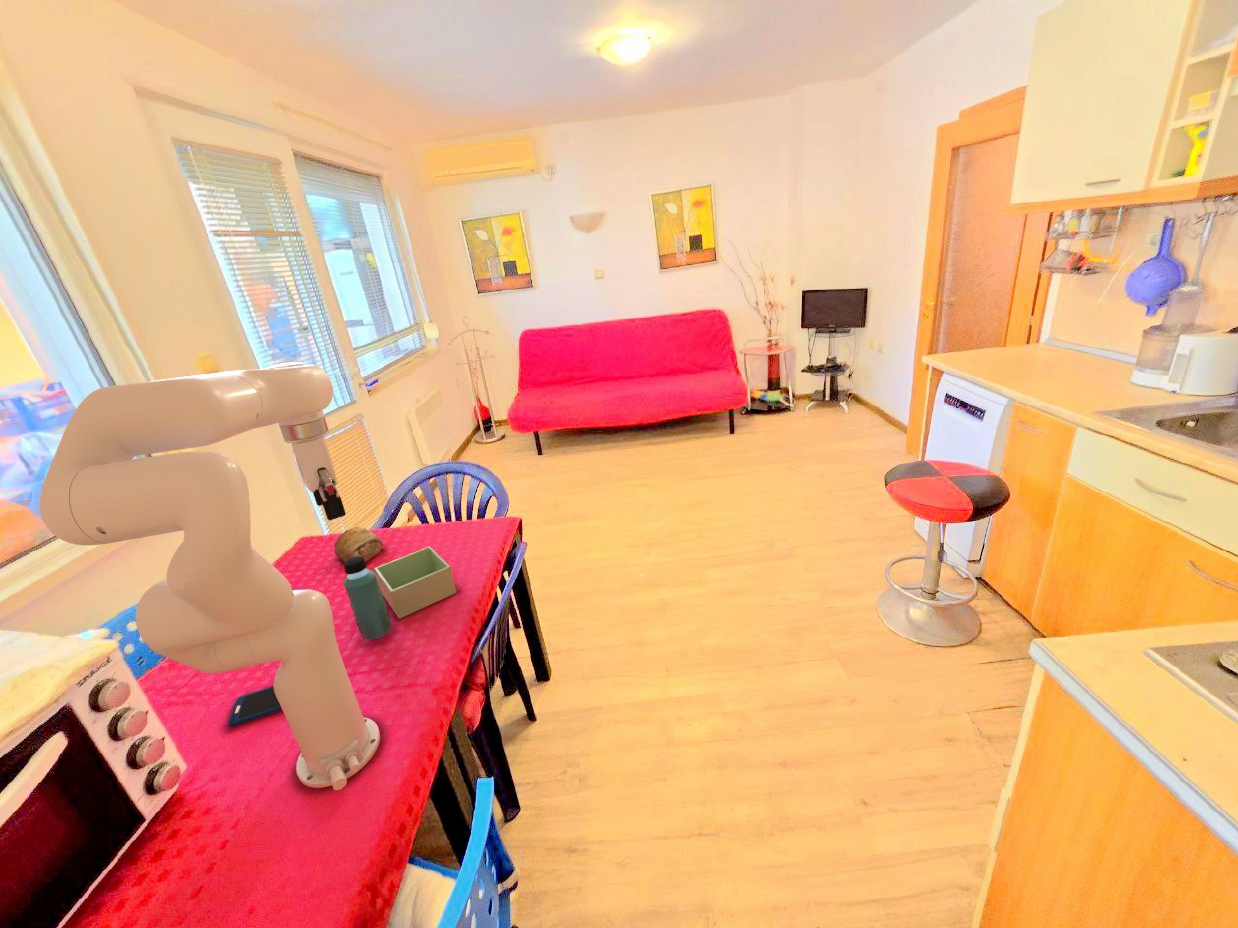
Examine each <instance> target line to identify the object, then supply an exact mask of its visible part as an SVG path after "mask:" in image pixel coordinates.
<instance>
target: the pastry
mask: <svg viewBox="0 0 1238 928" xmlns="http://www.w3.org/2000/svg"><path fill="white" fill-rule="evenodd" d="M382 545H383V541H382V539H381V538H380V537H379V536H378V535H377V534H375V533H373V532H372V531H370V530H369V529H367V528H365V527H360V526H355V527H354V528H350V529H346V530H345V531H343V533H341V534H340V535H339V536H338V537H337V539H336V541H335V542H334V544H333V546H334V547H333V548H334V550H333V551H334V554H335V556H336V557H337V558H338V559H340V560H341V561H342V562H343V563H344V562H345V561H346V560H348V559H350V558H352V557H356V556H361V557H363V558H364V560H365V562H366V563H367V562H368V561H370V560H372V559H373V558H375V556H377V555H379V554H380V553H381V551H382Z"/></svg>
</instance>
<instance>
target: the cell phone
mask: <svg viewBox="0 0 1238 928" xmlns="http://www.w3.org/2000/svg"><path fill="white" fill-rule="evenodd" d="M281 711H283V710H282V708H281V706H280V703H279V701H278V700H277V697H276V695H275V692H274V685H272V686H269V687H266V688H262V689H259V690H256V691H253V692H250V693H248V694H247V693H246V694H244V695H242V696H239V697H237V699H235V702H234V705H233V708H232V711H231V714H230V716H229V720H228V723H227V726H228V727H229V728H234V727H238V726H240V725H243V724H246V723H249V722H252V721H255V720H258V719H260V718H261V719H262V718H265V717H266V716H269V715H272V714H275V713H278V712H281Z"/></svg>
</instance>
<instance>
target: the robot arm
mask: <svg viewBox="0 0 1238 928" xmlns="http://www.w3.org/2000/svg"><path fill="white" fill-rule="evenodd" d="M333 396H334V387H333V382H332V380H331V378H330V376H329V375H328V374H327V372H326V371H325V370H324V369H323V368H322V367H320V366H318V365H316V364H306V363H303V362H286V363H278V364H274V365H270V366H268V367H265V368H263V369H243V370H229V371H228V370H227V371H222V372H221V371H220V372H214V373H207V374H198V375H190V376H189V375H188V376H181V377H174V378H173V377H172V378H167V379H165V378H164V379H158V380H150V381H141V382H133V383H125V384H117V385H109V386H104V387H100V388H97V389H96V390H93V391H92V392H90V393H89V394H88V395H87V396H85V398H84V399H83V400H82V401H81V402H80V403H79V405H78V406H77V407H76V408H75V410H74V412H73V414H72V415H71V417H70V419H69V421H68V423H67V424H66V425H67V426H66V427H65V429H64V431H63V434H62V436H61V439H60V441H59V443H58V446H57V449H56V451H55V454H54V456H53V459H52V462H51V463H50V465H49V468H48V470H47V473H46V475H45V477H44V478H45V479H44V480H43V484H42V486H41V492H40V496H39V512H40V516H41V518H42V522H43V524H44V525H45V527H46V528H47V530H48V531H49V532H50V533H51V535H53V536H55V537H56V538H58V539H59V540H61V541H63V542H65V543H69V544H71V545H77V546H99V545H100V546H101V545H107V544H114V543H119V542H124V541H130V540H136V539H137V540H138V539H143V538H147V537H153V536H159V535H165V534H171V533H177V532H181V531H182V532H183V540H182V542H181V543H180V545H179V546H178V547H177V548H176V550H175V552H174V553H173V555H172V557H171V559H170V561H169V563H168V566H167V569H166V575H165V576H166V578H163V579H161V580H159V581H157V582H155V583H154V584H153V585H151V586H149V588H147V589H146V591H145V592H144V593H143V595H142V596H141V597H140V599H139V601H138V603H137V606H136V610H135V624H136V628H137V631H138V634H139V635H140V637H141V639H142V641H143V642H144V643H145V645H146V646H147V647H148V648H149V649H150V650H151V651H153V652H155V653H156V654H158V655H160V656H162V657H164V658H166V659H169V660H171V661H174V662H176V663H178V664H181V665H183V666H184V667H185V666H186V667H188V668H191V669H192V670H196V671H198V672H201V673H204V674H213V675H214V674H223V673H224V674H225V673H229V672H234V671H239V670H242V669H243V670H244V669H247V668H251V667H254V666H259V665H264V664H270V663H275V662H279V663H280V662H281V664H280V665H279V667H278V669H277V671H276V673H275V674H274V678H273V686H274V692H275V695H276V697H277V700H278V701H279V703H280V706H281V708H282V710H281V711H282V712H283V714H284V718H285V720H286V722H287V724H288V726H289V729H290V731H291V733H292V735H293V738H294V740H295V742H296V744H297V747H298V749H299V751H300V754H299V755H298V759H297V760H296V764H295V765H296V766H295V773H296V775H297V777H298V780H299V781H300V782H301V783H302V784H303V785H304V786H306V787H309V788H314V789H319V788H327V787H332V789H333V790H334V791H340V790H342V789H344V788H345V787H346V785H347V783H348V779H349V778H351V777H352V776H354V775H355V774H357V773H358V772H359V771H360V770H362V769H363V768H364V767H365V766H366V765H367V764H368V763H369V762H370V760H371V759H372V758H373V756H374V755H375V753H376V752H377V750H378V748H379V745H380V741H381V731H380V730H379V726H378V724H377V723H376V722H375V721H374V720H373V719H371V718H368V717H365V716H364V715H363V713H362V709H361V706H360V704H359V701H358V698H357V696H356V694H355V691H354V688H353V685H352V682H351V680H350V677H349V674H348V671H347V669H346V666H345V664H344V663H345V662H344V661H343V658H342V655H341V652H340V649H339V645H338V642H337V637H336V631H335V625H334V623H335V622H334V617H333V609H332V605H331V603H330V600H329V599H328V597H327V596H326V595H325V594H324V593H322V592H321V591H318V590H315V589H294V590H293V587H292V584H291V583H290V582H289V580H288V579H287V578H286V576H285V575H284V574H283V573H282V572H281V571H279V570H278V568H276V567H275V566H274V565H273V564H272V563H271V562H269V561H268V560H267V559H266V558H265V557H263V556H262V555H261V554H260V553H259V552H258V551H257V550H256V549H255V548H254V547H253V546H252V541H251V504H250V503H251V502H250V492H249V491H250V490H249V484H248V481H247V478H246V475H245V473H244V470H242V467H241V466H240V465H239V463H238V462H237V461H236V460H234V459H233V458H231V457H230V456H228V455H225V454H222V453H219V452H213V451H181V452H175V453H167V452H174V451H180V450H186V449H187V450H188V449H194V448H201V447H206V446H210V445H214V444H217V443H220V442H222V441H225V440H228V439H231V438H232V437H235V436H238V435H240V434H243V433H246V432H248V431H251V430H256V429H259V428H264V427H268V426H272V425H275V424H278V427H279V430H280V433H281V435H282V438H283V441H284V443H286V444H291V447H292V452H293V455H294V458H295V461H296V465H297V467H298V470H299V471H298V472H299V473H300V474H299V475H300V477H301V481H302V483H303V484H304V486H305V487H306V488H307V490H308V491H309V492H310V493H313V497H314V500H315V503H316V505H317V506H318V507H321V506H322V507H323V511H324V513H325V516H326V519H327V521H333V520H336V519H339V518H342V517H345V516H346V515H347V512H346V510H345V507H344V504H343V500H342V498H341V495H340V493H339V491H338V489H337V484H338V478H337V474H336V470H335V467H334V464H333V460H332V457H331V454H330V451H329V448H328V444H327V442H326V439H325V436H327V435H329V434H330V430H329V426H328V424H327V420H326V417H325V414H324V411H323V410H325V409H326V408H328V407H329V406H330V404H331V403H332V400H333ZM160 453H166V454H160ZM153 454H158V455H153ZM159 454H160V455H159ZM145 455H153V456H146V457H140V458H135V457H138V456H145Z"/></svg>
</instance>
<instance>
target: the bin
mask: <svg viewBox="0 0 1238 928" xmlns="http://www.w3.org/2000/svg"><path fill="white" fill-rule="evenodd" d="M374 572H375V574H376V578H377V581H378V584H379V587H380V590H381V593H382V596H383V597H384V599H385V601H386V602H387V603H388V605H389V606H390V608H391V609H392V611H393V612H394V614H395V616H396V617H397V618H398V619H399V620H400V619H402V618H405V617H407V616H410V615H411V614H413V613H415V612H417V611H420V610H422V609H424V608H426V607H428V606H430V605H432V604H435V603H438V602H439V601H441V600H443V599H446V598H448V597H450V596H453V595H455V594H457V588H456V584H455V580H454V575H453V571H452V567H451V565H449V564H448V563H447V561H445V559H444V558H443V557H442V556H441V555H440V554H438V553H437V551H435V550H434V548H432V547H431V546H426V547H424V548H422V549H419V550H416V551H414V552H412V553H409V554H406V555H404V556H402V557H399V558H396V559H394V560H390V561H389V562H387V563H384V564H381V565H379V566H376V567H374Z"/></svg>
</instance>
